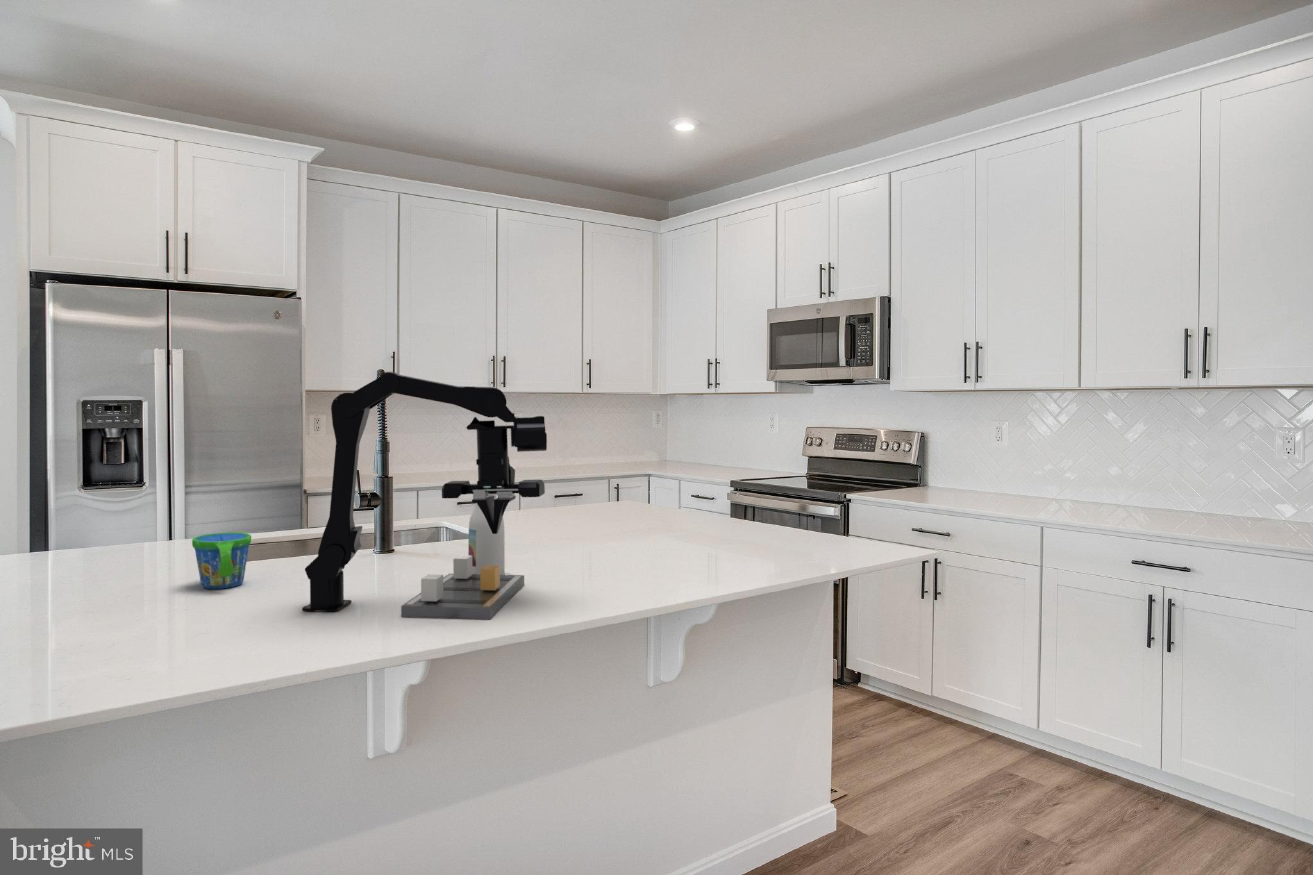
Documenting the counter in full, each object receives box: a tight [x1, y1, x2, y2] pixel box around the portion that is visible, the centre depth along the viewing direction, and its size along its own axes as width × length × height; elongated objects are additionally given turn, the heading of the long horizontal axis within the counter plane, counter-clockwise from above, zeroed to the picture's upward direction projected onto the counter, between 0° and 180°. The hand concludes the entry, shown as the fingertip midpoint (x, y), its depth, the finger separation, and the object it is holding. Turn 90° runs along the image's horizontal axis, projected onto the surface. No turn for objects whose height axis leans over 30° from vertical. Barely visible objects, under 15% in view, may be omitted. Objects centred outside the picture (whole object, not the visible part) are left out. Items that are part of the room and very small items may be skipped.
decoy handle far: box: [452, 554, 472, 579], centre depth 159 cm, size 4×3×4 cm
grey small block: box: [420, 573, 444, 601], centre depth 141 cm, size 4×3×4 cm
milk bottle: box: [467, 486, 506, 575], centre depth 170 cm, size 8×8×20 cm
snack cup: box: [191, 532, 252, 590], centre depth 159 cm, size 16×10×10 cm
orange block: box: [480, 565, 500, 590], centre depth 150 cm, size 4×3×4 cm
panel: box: [400, 573, 525, 620], centre depth 150 cm, size 26×16×2 cm, turn 177°
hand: (495, 533), depth 149 cm, fingers closed
